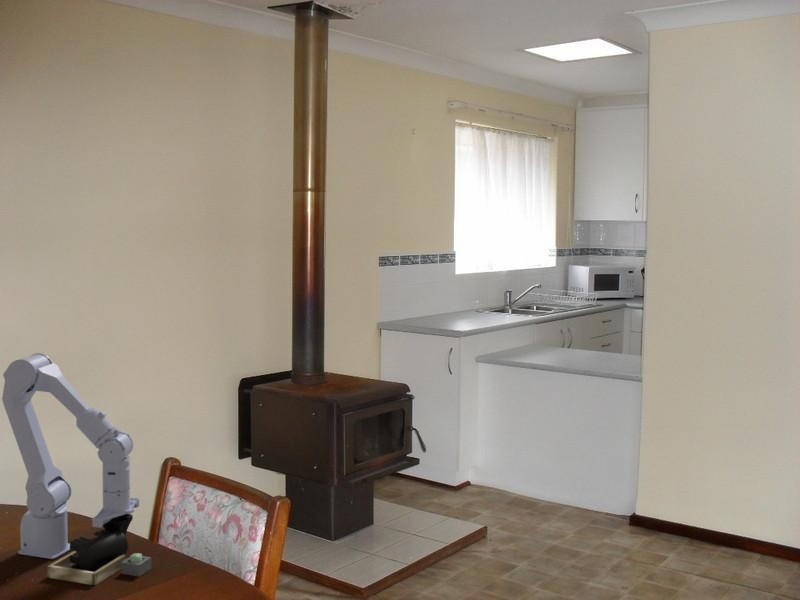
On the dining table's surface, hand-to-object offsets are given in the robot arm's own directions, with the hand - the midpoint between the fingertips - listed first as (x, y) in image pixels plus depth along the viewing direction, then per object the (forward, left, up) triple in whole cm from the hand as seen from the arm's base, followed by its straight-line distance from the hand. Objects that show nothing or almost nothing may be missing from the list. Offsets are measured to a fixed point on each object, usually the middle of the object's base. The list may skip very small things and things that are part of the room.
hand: (116, 548), depth 191 cm
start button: (+10, -7, -1) cm, 12 cm away
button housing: (+10, -7, -1) cm, 12 cm away
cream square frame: (0, -11, -1) cm, 11 cm away
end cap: (+1, -7, -1) cm, 7 cm away
